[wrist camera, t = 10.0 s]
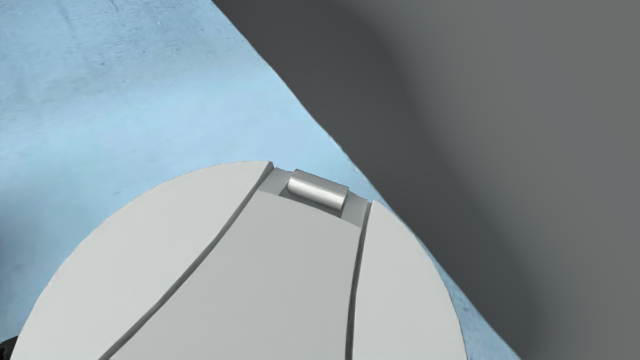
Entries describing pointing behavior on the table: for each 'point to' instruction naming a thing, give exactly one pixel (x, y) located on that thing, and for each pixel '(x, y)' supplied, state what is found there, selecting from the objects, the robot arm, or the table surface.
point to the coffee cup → (246, 278)
